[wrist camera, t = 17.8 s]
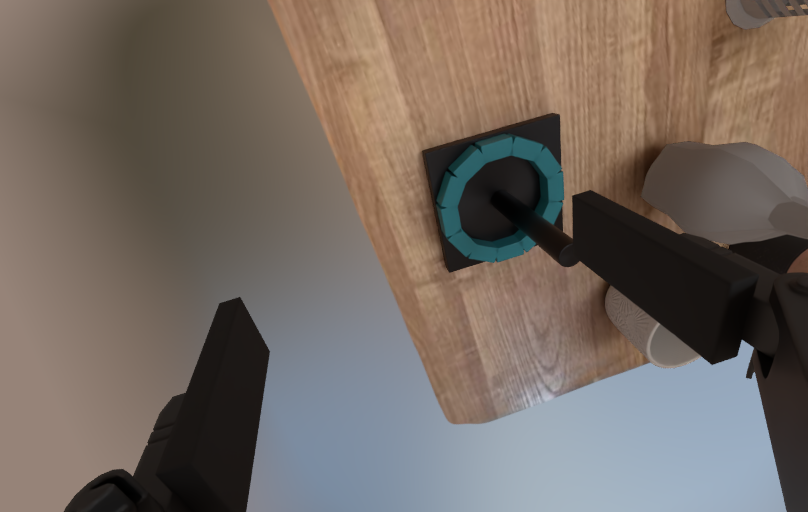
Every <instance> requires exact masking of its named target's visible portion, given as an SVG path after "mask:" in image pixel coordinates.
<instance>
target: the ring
mask: <svg viewBox="0 0 808 512" xmlns="http://www.w3.org/2000/svg"><path fill="white" fill-rule="evenodd" d="M507 156H515V157H519V158H522V159H526V160H528V161H529V162H530V163H531V165H532V166H533V167H534V169H535V170H536V171H537V172H538V174H539V179H540V193H541V197H540V200H539V202H538V204H537V206H536V209H535V212H536V213H538V214H539V215H540V216H542V217H543V218H544V219H546V220H547V221H549V222H550V223H551V224H553V225H554V223H555V220H556V218H557V216H558V214H559V212H560V210H561V208H562V205H563V202H561V200H564V182H563V171H561V169H562V168H561V166H560V165H559V163H558V162H557V161H556V159H555V158H554V157H553V155H552V154H551V152H550V151H549V150H548V148H547V147H545V146H543V144H541V143H538V142H536V141H533V140H529V139H526V138H522V137H519V136H515V135H512V134H508V135H506V134H502V135H498V136H495V137H492V138H488V139H485V140H482V141H479V142H475V147H474V146H473V145H470V146H469V147H468V148H467V149H466V150H465V151H464V152H463V153H462V154H461V155H460V156H459V157H458V158H457V159H456V160H455V161H454V162H453V163H452V164H451V165H450V166H449V167H448V169H449V170H450V171H451V172H452V173H451V172H447V171H446V172H445V175H444V178H443V182H442V185H441V188H440V191H439V194H438V197H437V200H436V201H437V202H438V204H436V207H437V211H438V216H439V221H440V225H441V230H442V232H443V234H444V235H445V237H446V238H447V239H448V241H450V242H451V243H452V244H453V245H454V246H455V247H456V248H457V249H458V250H459V251H460V252H461V253H462V254H463V255H464V256H465V257H467V256H468V258H469V259H475V260H481V261H487V262H492V263H494V262H495V260H496V261H497V262H501V261H504V260H507V259H510V258H513V257H516V256H519V255H522V254H524V250H525V251H526V252H528V251H529V250H530V249H531V248H532V247H533V246H535V245H536V243H535V242H534V241H533V240H531V239H530V238H529V237H528V236H527V235H526V234H524V233H523V232H522V231H521V230H520V229H519V230H518V231H517V232H516V233H515V234H514V235H512V236H509V237H505V238H502V239H499V240H496V241H493V242H490V241H484V240H479V239H474V238H471V237H470V236H469V235H468V234H467V233H466V232H465V231H464V230H463V229H462V228H461V223H460V217H459V212H458V204H459V201H460V199H461V196H462V193H463V190H464V187H465V184H466V182H467V181H468V180H469V179H470V178H471V177H472V176H473V175H474V174H475V173H476V172H477V171H479V170H480V169H481V168H482V167H483V166H484V165H485V164H486V163H488V162H491V161H494V160H498V159H501V158H504V157H507ZM523 249H524V250H523Z"/></svg>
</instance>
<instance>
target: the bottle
mask: <svg viewBox="0 0 808 512" xmlns="http://www.w3.org/2000/svg"><path fill="white" fill-rule="evenodd" d="M641 197H642V198H643V199H644V200H645V201H646V202H648V203H649V204H650V205H652V206H653V207H654V208H656V209H658V210H660V211H662V212H663V213H665V214H667V215H669V217H670V218H671V219H672V220H673V221H674V222H675V223H676V224H677V225H678V226H679V227H680V228H681V229H682V230H683V231H684V232H686V233H687V234H691V235H695V236H699V237H703V238H705V239H707V240H710V241H715V242H719V243H725V244H736V243H742V242H755V241H763V240H767V239H771V238H774V237H778V236H782V235H786V234H788V235H792V236H796V237H800V238H804V239H808V188H807V185H806V182H805V179H804V176H803V175H802V174H801V173H800V172H798V171H797V170H796V169H795V168H793V167H792V166H791V165H790V164H789V163H788V162H787V161H786V160H785V159H784V158H782V157H780V156H778V155H776V154H774V153H772V152H770V151H768V150H766V149H764V148H762V147H760V146H758V145H755V144H751V143H748V142H740V143H730V144H720V145H709V144H703V143H697V142H691V141H687V142H680V143H673V144H667V145H666V146H665V147H664V149H663V150H662V152H661V153H660V155H659V156H658V157H657V159H656V160H655V161H654V162H653V164H652V165H651V167H650V169H649V171H648V173H647V175H646V178H645V183H644V187H643V190H642V194H641Z"/></svg>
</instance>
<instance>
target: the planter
mask: <svg viewBox="0 0 808 512" xmlns="http://www.w3.org/2000/svg"><path fill="white" fill-rule="evenodd" d="M605 309H606V313H607V315H608V317H609V318H610V320H611V321H612V323H613V324H614V325H615V326H616V327H617V329H618V330H619V331H620V332H621V333H622V334H623V335H624V336H625V337H626V338H627V339H628V340H629V341H630V342H631V343H632V344H633V345H634V346H635V347H636V348H637V349H638V350H639V351H640V352H641V353H642V354H643V355H644V356H645V357H646V358H647V359H648V360H649V361H650V362H651V363H652V364H654V365H655V366H658V367H661V368H676V367H680V366H683V365H686V364H689V363H691V362H693V361H695V360H697V359H698V358H700V357H701V356H700V355H699V354H698V353H696V352H695V351H694V350H693V349H691V348H690V347H689V346H687V345H686V344H685V343H684V342H682V341H681V340H680V339H679V338H677V337H676V336H675V335H674V334H672V333H671V332H670V331H668V330H667V329H666V328H665V327H663V326H662V325H661V324H660V323H658V322H657V321H656V320H654V319H653V318H652V317H651V316H649V315H648V314H647V313H646V312H644V311H643V310H642V309H640V308H639V307H638V306H637V305H635V304H634V303H633V302H632V301H630V300H629V299H628V298H627V297H625V296H624V295H623V294H621V293H620V292H619V291H618V290H616V289H615V288H614V287H613V286H611V285H610V287H609V289H608V291H607V294H606V297H605Z"/></svg>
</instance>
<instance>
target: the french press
mask: <svg viewBox="0 0 808 512" xmlns="http://www.w3.org/2000/svg"><path fill="white" fill-rule="evenodd" d="M803 4H806V5H807V6H808V0H726V12H727V13H728V15H729V17H730V19H731V21H732V22H733V24H734V25H736V26H739V27H741V28H743V29H752V28H759V27H761V26H762V25H764V24H766V23H767V22H769V21H771V20H772V19H774V18H775V17H787V16H801V15H808V9H802V8H801V7H800V5H803ZM786 6H792V7H793V8H794V10H788V9H787V7H786Z"/></svg>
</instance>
